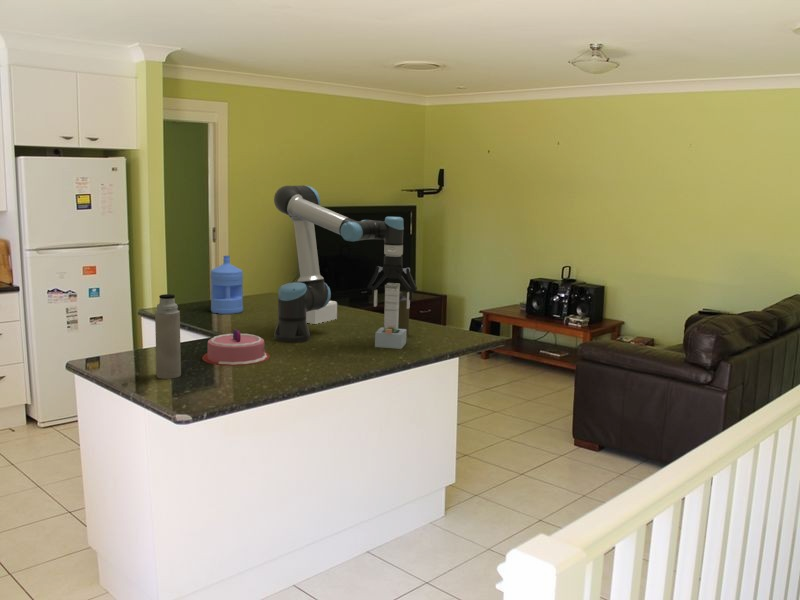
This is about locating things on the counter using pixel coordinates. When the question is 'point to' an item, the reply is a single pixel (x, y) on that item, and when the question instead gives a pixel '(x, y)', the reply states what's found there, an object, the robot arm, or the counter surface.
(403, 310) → the canister
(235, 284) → the water jug
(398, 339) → the stand base
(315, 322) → the white box
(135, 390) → the counter surface
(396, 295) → the column
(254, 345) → the cake
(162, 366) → the thermos bottle
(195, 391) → the counter surface
